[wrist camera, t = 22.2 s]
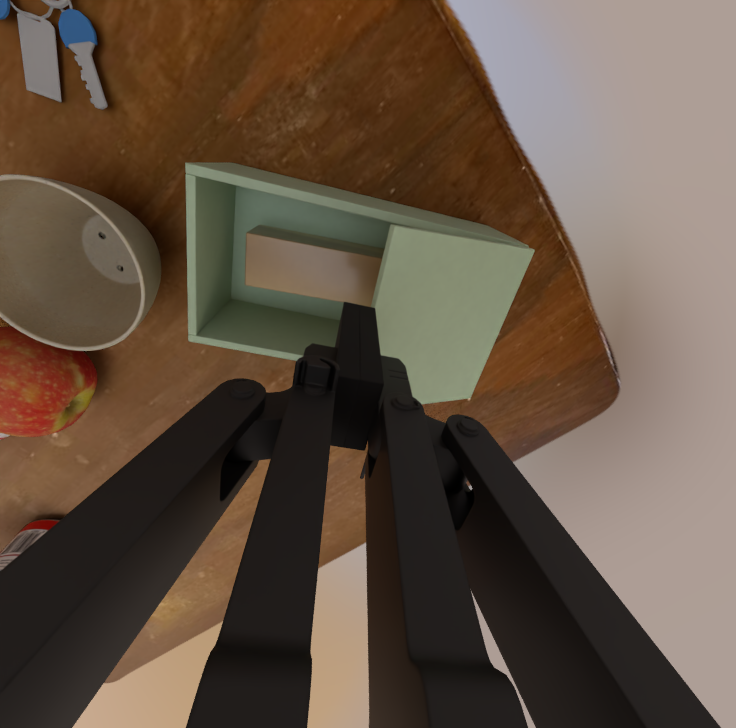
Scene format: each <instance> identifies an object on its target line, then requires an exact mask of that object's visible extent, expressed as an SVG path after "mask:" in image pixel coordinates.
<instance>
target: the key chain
mask: <svg viewBox="0 0 736 728" xmlns="http://www.w3.org/2000/svg"><path fill="white" fill-rule="evenodd" d="M41 1H42V2H44V3H45V4H47V5H48V6H50V8H49V11H48V13H47V14H45V15H43V16H41V17H39V16H37V15H34V14H31V13H28V12H24V11H21V10H19V9H18V8H16V7H15V6H14V4H13V3H12V2H11V1H10V0H0V19H5V18H6V17H7V16H8V15H9V11H10V5H11V6H12V7H13V8H14V9H15V10H16V11H18V12H19V13H18V14H17V19H18V27H19V35H20V42H21V50H22V58H23V65H24V73H25V81H26V88H27V90H29V91H32V92H34V93H37V94H40V95H43V96H45V97H48V98H51V99H54V100H56V101H59V102H62V101H61V90H60V79H59V68H58V57H57V46H56V35H55V28H54V27H53V25H52V24H51V23H50V22H49V21H47V20H45V19H46V18H48V17H50V15H51V13H52V11H53V8H58V9H60V10H61V11H62V13H61V16H60V19H59V22H58V25H59V31H60V37H61V38H62V40H63V42H64V44H65V46H66V48H68V49H69V48H70V49H71V50H72V51H73V52H74V53H75V54H77V55H78V56H74V57H75V60H76V61H77V62H78V65H79V66H82V69H83V70H80V71H81V74H82V75H81V78H82V80H83V81H84V80H86V81H87V85H85V86H86V89H87V90H90V93H91V96H92V98H90V101H91V103H94V105H95V107H96V108H99V109H102V110H103V109H105V108H106V107H108V105H107V102H106V99H105V96H104V93H103V89H102V86H101V83H100V80H99V77H98V74H97V71H96V67H95V64H94V61H93V58H92V53H93V50H94V47H95V44H96V45H97V37H96V32H95V30H94V28H93V26H92V24H91V22H90V20H89V19H88V18H87V17H86V16H84V15H83V14H82V13H81V12H80V11H77V10H73V6H72V3H71V0H59V1H56V0H41ZM68 5H69V6H70V9H67V10H64V9H63V8H64V7H66V6H68ZM33 19H34V20H33ZM35 20H40V22H41V23H40V22H38V21H35Z"/></svg>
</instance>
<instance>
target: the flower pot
mask: <svg viewBox="0 0 736 728" xmlns="http://www.w3.org/2000/svg"><path fill="white" fill-rule="evenodd" d="M100 235H101V236H103V237H104V239H103V238H101V237H100ZM122 267H123V269H122ZM160 279H161V259H160V254H159V250H158V247H157V245H156V243H155V240H154V239H153V237H152V235H151V234H150V232H149V231H148V230H147V228H146V227H145V226H144V225H143V224H142V223H141V222H140V221H139V220H138V219H137V218H136V217H135V216H133V215H132V214H131V213H130V212H128V211H127V210H125V209H124V208H123V207H121V206H119V205H118V204H116V203H115V202H113V201H111V200H109V199H107V198H105V197H103V196H101V195H99V194H97V193H94V192H92V191H89V190H87V189H84V188H81V187H78V186H75V185H72V184H69V183H65V182H61V181H57V180H53V179H48V178H42V177H36V176H28V175H17V174H7V175H0V317H1V318H2V319H3V320H4V321H6V322H7V323H8V324H10V325H11V326H13V327H14V328H16V329H17V330H19V331H20V332H22V333H24V334H26V335H27V336H29V337H31V338H33V339H35V340H37V341H40V342H43V343H45V344H48V345H51V346H54V347H58V348H63V349H68V350H74V351H93V350H99V349H104V348H107V347H110V346H113V345H115V344H117V343H119V342H121V341H122V340H124V339H125V338H126V337H128V336H129V335H130V334H131V333H132V332H133V331H134V330H135V329H136V328H137V326H138V325H139V324H140V323H141V322H142V320H143V319H144V318H145V316H146V315H147V313H148V311H149V310H150V308H151V306H152V304H153V302H154V300H155V297H156V295H157V292H158V288H159V285H160Z"/></svg>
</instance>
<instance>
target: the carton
mask: <svg viewBox="0 0 736 728" xmlns="http://www.w3.org/2000/svg"><path fill="white" fill-rule="evenodd" d="M185 167H186V228H187V288H188V341H190V342H196V343H201V344H207V345H212V346H218V347H223V348H229V349H234V350H240V351H245V352H251V353H256V354H262V355H267V356H273V357H278V358H284V359H289V360H295V361H297V360H298V359H299V358H301V357H303V355H304V351H305V348H306V347H308V346H309V345H310V344H312V343H314V344H320V345H325V346H330V347H335V343H336V338H337V334H338V329H339V324H340V319H341V314H342V309H343V304H344V302H338V301H332V300H326V299H321V298H315V297H309V296H304V295H298V294H292V293H287V292H281V291H275V290H269V289H264V288H258V287H252V286H247V285H245V252H246V232H248V231H250V230H251V229H253V228H254V227H256V226H258V225H260V224H261V225H266V226H271V227H276V228H281V229H286V230H291V231H297V232H302V233H307V234H312V235H317V236H322V237H327V238H332V239H338V240H343V241H348V242H353V243H358V244H363V245H368V246H374V247H379V248H384V249H385V245H386V241H387V237H388V233H389V229H390V225H391V224H393V225H399V226H405V227H411V228H417V229H422V230H428V231H434V232H440V233H446V234H452V235H457V236H463V237H469V238H475V239H481V240H486V241H492V242H498V243H504V244H510V245H516V246H521V247H527V248H528V247H529V246H528V245H526V244H524V243H522V242H520V241H518V240H516V239H514V238H512V237H510V236H508V235H506V234H504V233H502V232H499V231H497V230H495V229H493V228H491V227H489V226H487V225H483V224H479V223H475V222H471V221H467V220H463V219H459V218H455V217H451V216H447V215H443V214H439V213H435V212H431V211H427V210H422V209H418V208H414V207H410V206H406V205H402V204H398V203H394V202H390V201H386V200H382V199H378V198H374V197H370V196H366V195H362V194H358V193H353V192H349V191H345V190H341V189H337V188H333V187H329V186H325V185H321V184H317V183H313V182H309V181H305V180H301V179H297V178H293V177H288V176H284V175H280V174H276V173H272V172H268V171H264V170H260V169H256V168H252V167H248V166H244V165H240V164H236V163H186V164H185Z"/></svg>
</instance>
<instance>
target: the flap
mask: <svg viewBox="0 0 736 728" xmlns="http://www.w3.org/2000/svg"><path fill="white" fill-rule="evenodd" d="M534 251H535V250H534V249H531V248H527V247H521V246H516V245H510V244H504V243H498V242H492V241H486V240H481V239H475V238H469V237H463V236H457V235H452V234H446V233H440V232H434V231H428V230H422V229H417V228H411V227H405V226H399V225H393V224H391V225H390V229H389V233H388V237H387V241H386V245H385V250H384V254H383V258H382V262H381V266H380V270H379V274H378V279H377V283H376V287H375V291H374V295H373V299H372V304H371V307H373V308H375V310H376V319H377V328H378V336H379V345H380V354H381V355H383V356H388V357H393V358H398V359H400V360H401V361H402V363H403V364H404V365H405V366H406V370H407V375H408V380H409V383H410V388H411V392H412V396H413V397H414V398H416V399H417V400H418V401H419V402H420V403H421V404H428V403H436V402H444V401H452V400H460V399H467V398H471V396H472V393H473V391H474V389H475V386H476V384H477V382H478V379H479V377H480V375H481V373H482V370H483V368H484V366H485V363H486V361H487V359H488V357H489V354H490V352H491V350H492V347H493V345H494V343H495V341H496V338H497V336H498V334H499V331H500V329H501V327H502V325H503V322H504V320H505V318H506V315H507V313H508V311H509V308H510V306H511V304H512V302H513V299H514V297H515V295H516V292H517V290H518V288H519V286H520V283H521V281H522V279H523V276H524V274H525V272H526V270H527V267H528V265H529V263H530V260H531V258H532V256H533V254H534Z"/></svg>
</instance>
